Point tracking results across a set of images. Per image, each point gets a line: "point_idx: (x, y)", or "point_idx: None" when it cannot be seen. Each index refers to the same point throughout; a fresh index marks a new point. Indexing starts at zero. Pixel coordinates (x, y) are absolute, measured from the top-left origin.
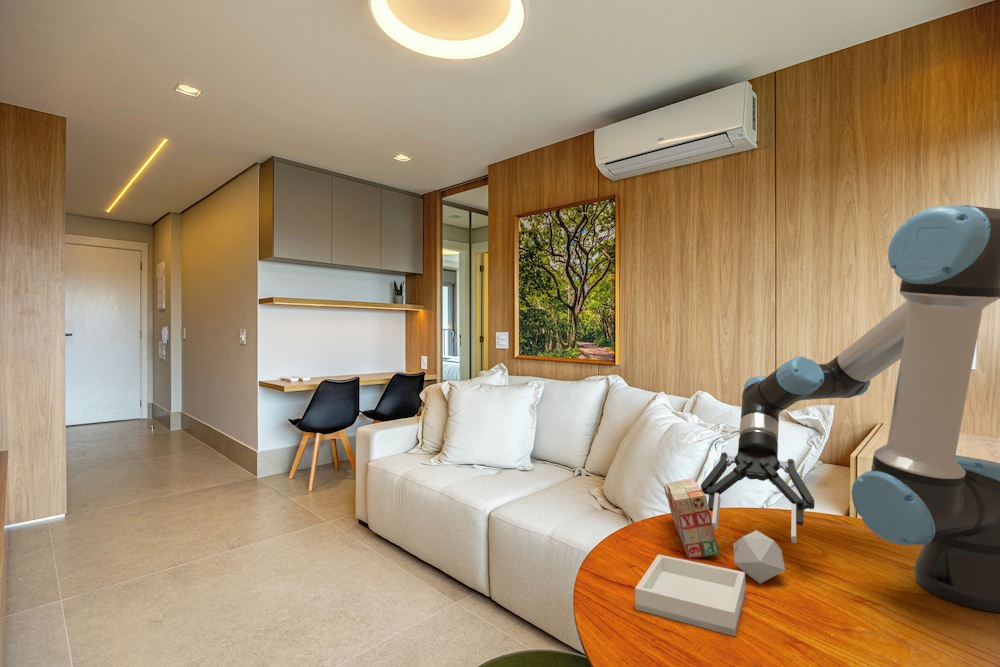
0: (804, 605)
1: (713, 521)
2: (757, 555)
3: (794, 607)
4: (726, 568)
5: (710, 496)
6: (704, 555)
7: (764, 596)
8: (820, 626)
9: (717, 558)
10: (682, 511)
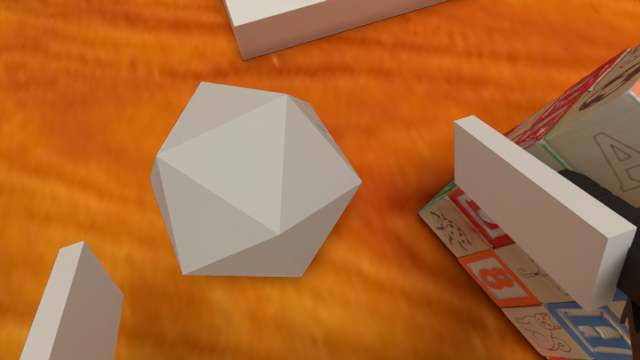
0: (85, 110)
1: (469, 122)
2: (213, 86)
3: (105, 77)
4: (293, 9)
5: (637, 217)
6: (454, 178)
7: (193, 78)
8: (21, 27)
9: (426, 228)
10: (633, 51)
